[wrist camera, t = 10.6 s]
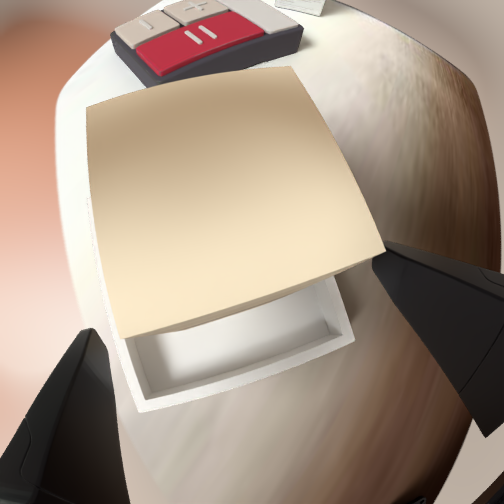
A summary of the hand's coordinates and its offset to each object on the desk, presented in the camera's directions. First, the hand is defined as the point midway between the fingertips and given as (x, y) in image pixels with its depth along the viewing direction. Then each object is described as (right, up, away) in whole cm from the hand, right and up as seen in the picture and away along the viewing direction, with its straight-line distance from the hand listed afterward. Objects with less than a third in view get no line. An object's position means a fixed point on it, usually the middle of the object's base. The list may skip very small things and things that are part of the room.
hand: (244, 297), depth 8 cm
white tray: (-2, 0, +9) cm, 9 cm away
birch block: (-2, 0, +8) cm, 9 cm away
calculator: (-4, +21, +15) cm, 26 cm away
